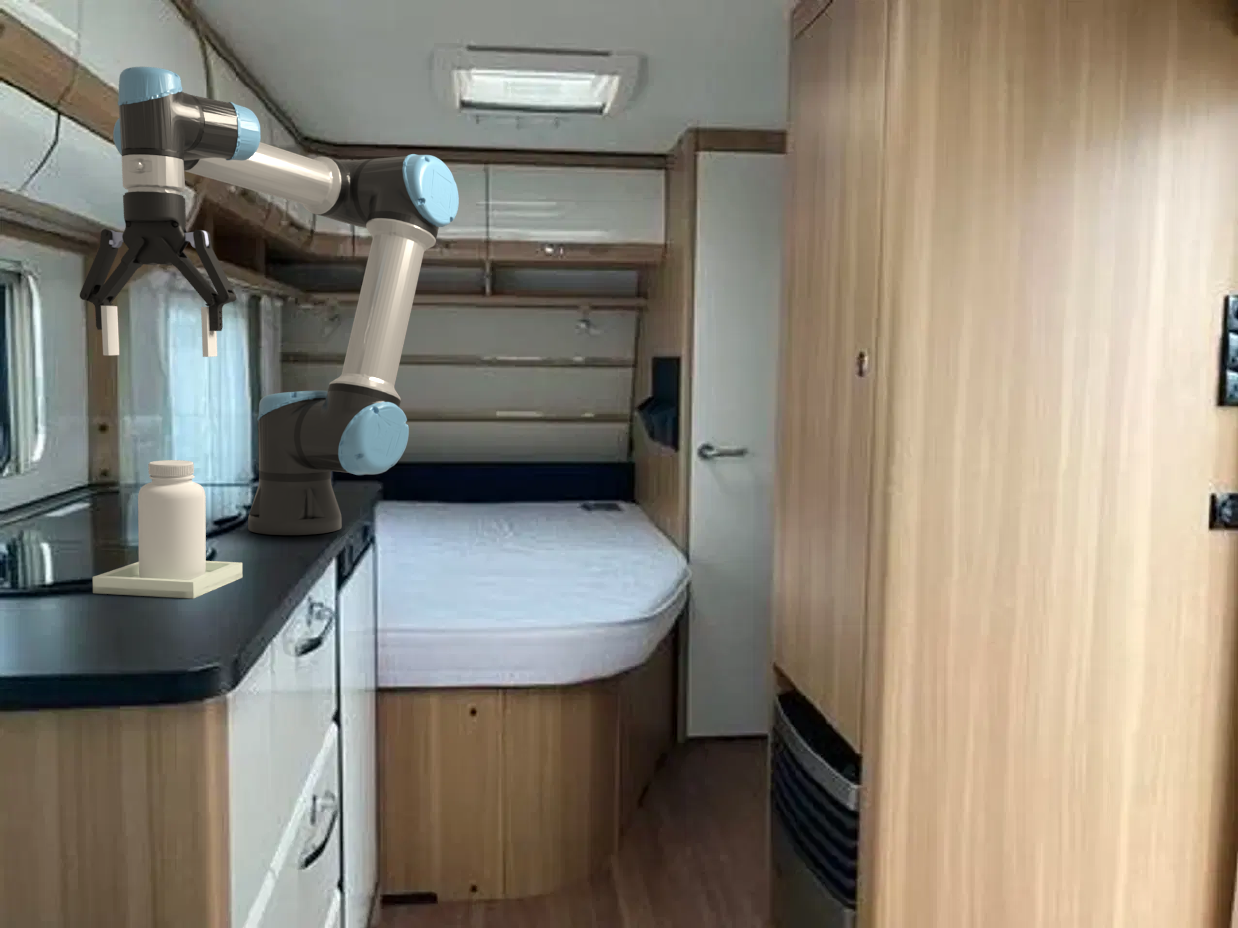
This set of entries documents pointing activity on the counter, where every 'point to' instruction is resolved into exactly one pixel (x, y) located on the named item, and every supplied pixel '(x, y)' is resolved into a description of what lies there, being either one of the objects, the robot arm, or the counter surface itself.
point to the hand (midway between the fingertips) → (160, 356)
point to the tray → (166, 581)
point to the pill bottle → (172, 523)
